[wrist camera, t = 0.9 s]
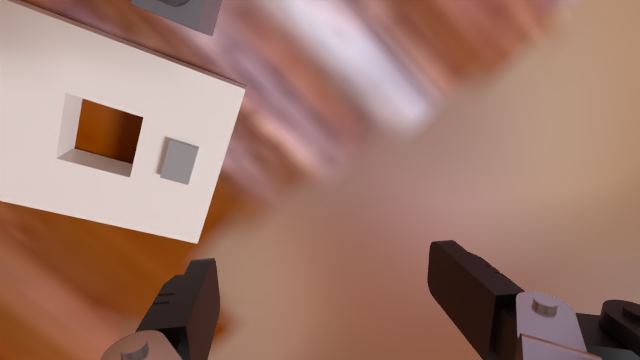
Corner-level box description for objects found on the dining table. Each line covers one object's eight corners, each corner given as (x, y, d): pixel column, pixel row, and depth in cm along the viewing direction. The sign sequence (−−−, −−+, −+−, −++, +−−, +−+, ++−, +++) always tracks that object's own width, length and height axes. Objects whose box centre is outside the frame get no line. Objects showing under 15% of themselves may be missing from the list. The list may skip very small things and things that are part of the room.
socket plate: (-25, 175, 29) (-61, 191, 26) (-12, -12, 24) (-54, -22, 21) (202, 228, 35) (196, 246, 31) (246, 85, 30) (245, 90, 27)
